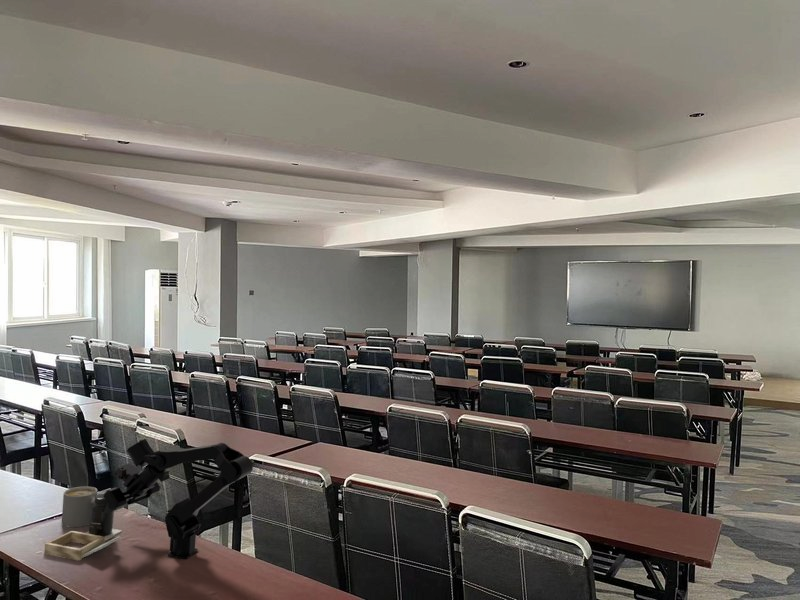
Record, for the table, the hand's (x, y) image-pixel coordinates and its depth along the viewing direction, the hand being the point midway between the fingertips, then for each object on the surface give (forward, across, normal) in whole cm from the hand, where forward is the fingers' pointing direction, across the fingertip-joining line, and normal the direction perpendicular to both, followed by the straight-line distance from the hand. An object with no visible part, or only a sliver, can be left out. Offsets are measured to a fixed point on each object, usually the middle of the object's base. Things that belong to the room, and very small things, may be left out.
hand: (116, 507), depth 182 cm
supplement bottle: (+10, 0, +2) cm, 11 cm away
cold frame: (+10, +12, +4) cm, 15 cm away
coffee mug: (+20, -5, -6) cm, 21 cm away
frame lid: (+3, +11, +11) cm, 15 cm away
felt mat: (+11, 0, +2) cm, 11 cm away
